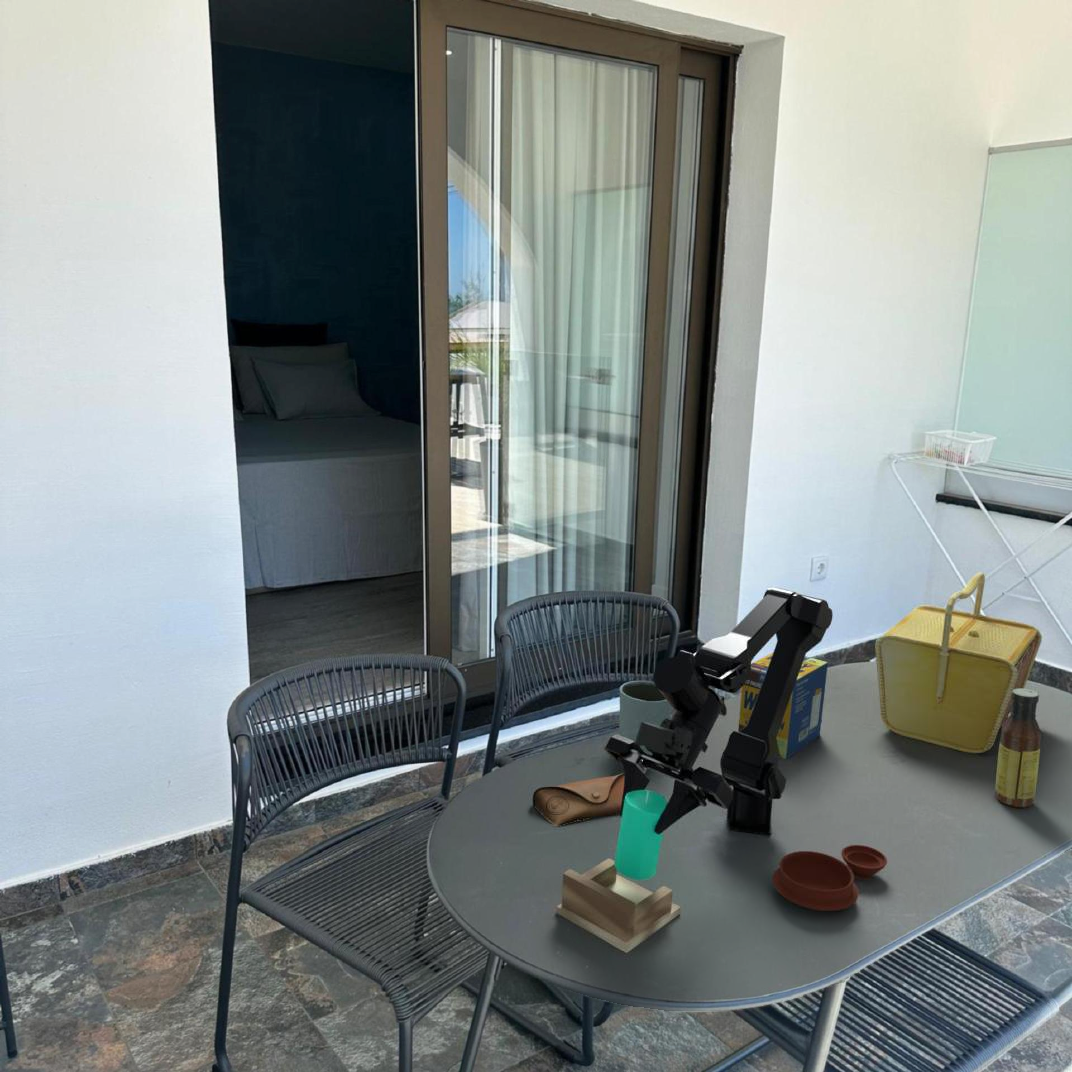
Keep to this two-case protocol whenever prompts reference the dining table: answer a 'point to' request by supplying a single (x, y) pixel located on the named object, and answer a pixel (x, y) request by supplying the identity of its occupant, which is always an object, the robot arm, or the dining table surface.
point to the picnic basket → (953, 672)
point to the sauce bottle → (1019, 751)
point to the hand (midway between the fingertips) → (638, 825)
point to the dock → (614, 906)
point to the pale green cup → (641, 708)
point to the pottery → (826, 876)
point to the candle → (639, 834)
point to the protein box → (791, 703)
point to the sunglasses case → (580, 799)
